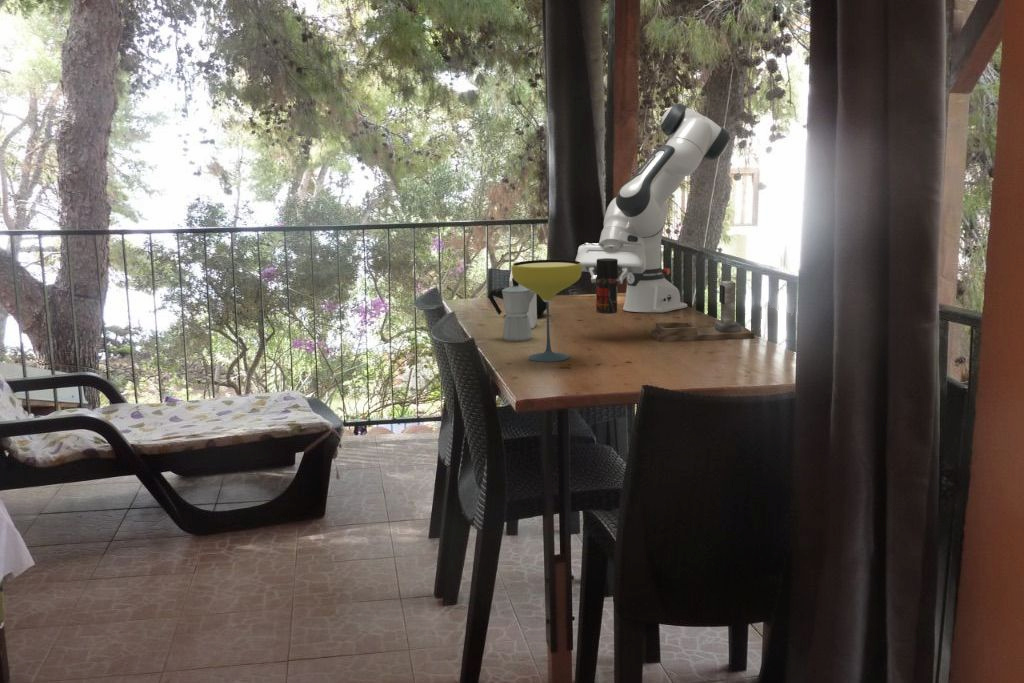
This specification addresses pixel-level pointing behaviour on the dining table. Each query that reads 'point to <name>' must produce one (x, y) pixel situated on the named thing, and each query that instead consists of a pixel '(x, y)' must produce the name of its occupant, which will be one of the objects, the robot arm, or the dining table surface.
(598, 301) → the deodorant
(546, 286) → the cocktail glass
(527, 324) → the coffee maker
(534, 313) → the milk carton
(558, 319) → the dining table surface
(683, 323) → the wooden stand
